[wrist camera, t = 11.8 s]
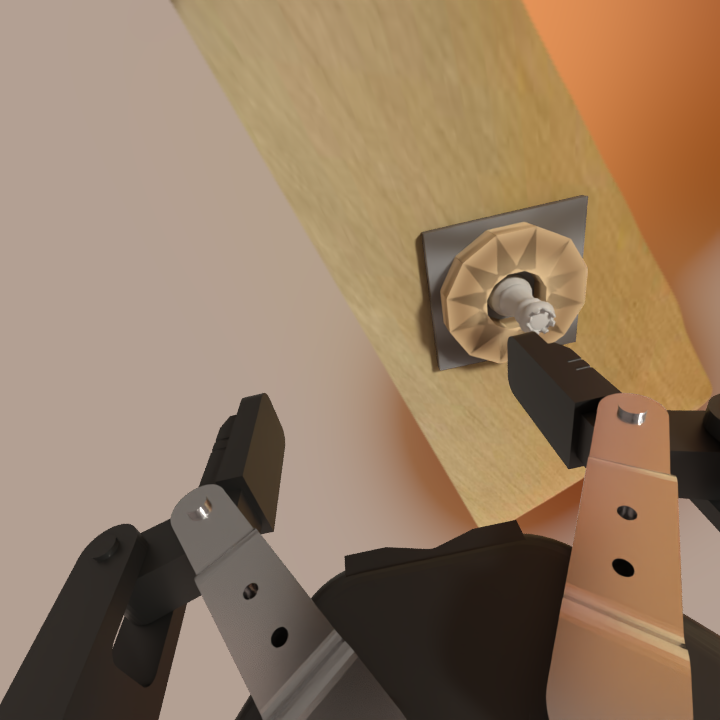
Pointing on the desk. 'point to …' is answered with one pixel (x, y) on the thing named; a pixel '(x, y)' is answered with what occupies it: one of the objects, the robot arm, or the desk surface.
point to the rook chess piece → (521, 304)
